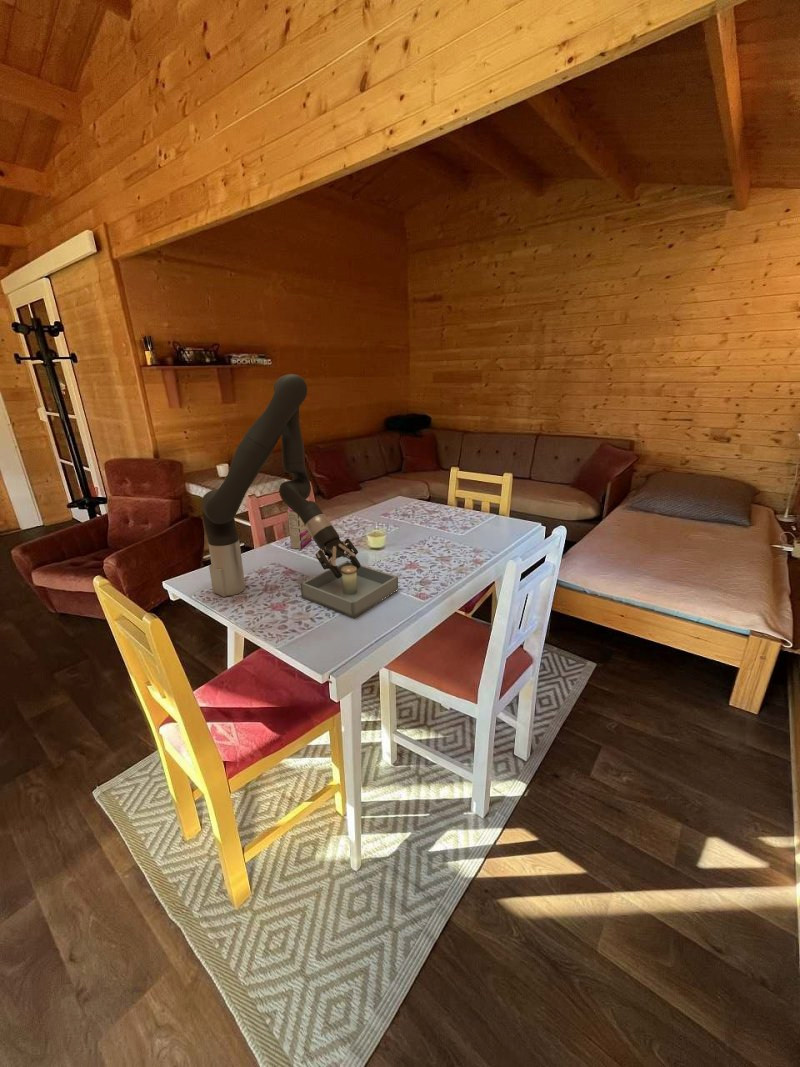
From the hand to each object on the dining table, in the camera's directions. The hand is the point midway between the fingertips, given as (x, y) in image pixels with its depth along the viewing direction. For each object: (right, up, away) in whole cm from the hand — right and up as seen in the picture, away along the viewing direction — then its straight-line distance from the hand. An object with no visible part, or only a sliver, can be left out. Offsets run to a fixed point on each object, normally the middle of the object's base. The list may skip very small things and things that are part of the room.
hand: (349, 572), depth 142 cm
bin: (0, -7, +3) cm, 8 cm away
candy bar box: (-25, +8, +44) cm, 52 cm away
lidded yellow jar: (0, -6, +3) cm, 7 cm away
